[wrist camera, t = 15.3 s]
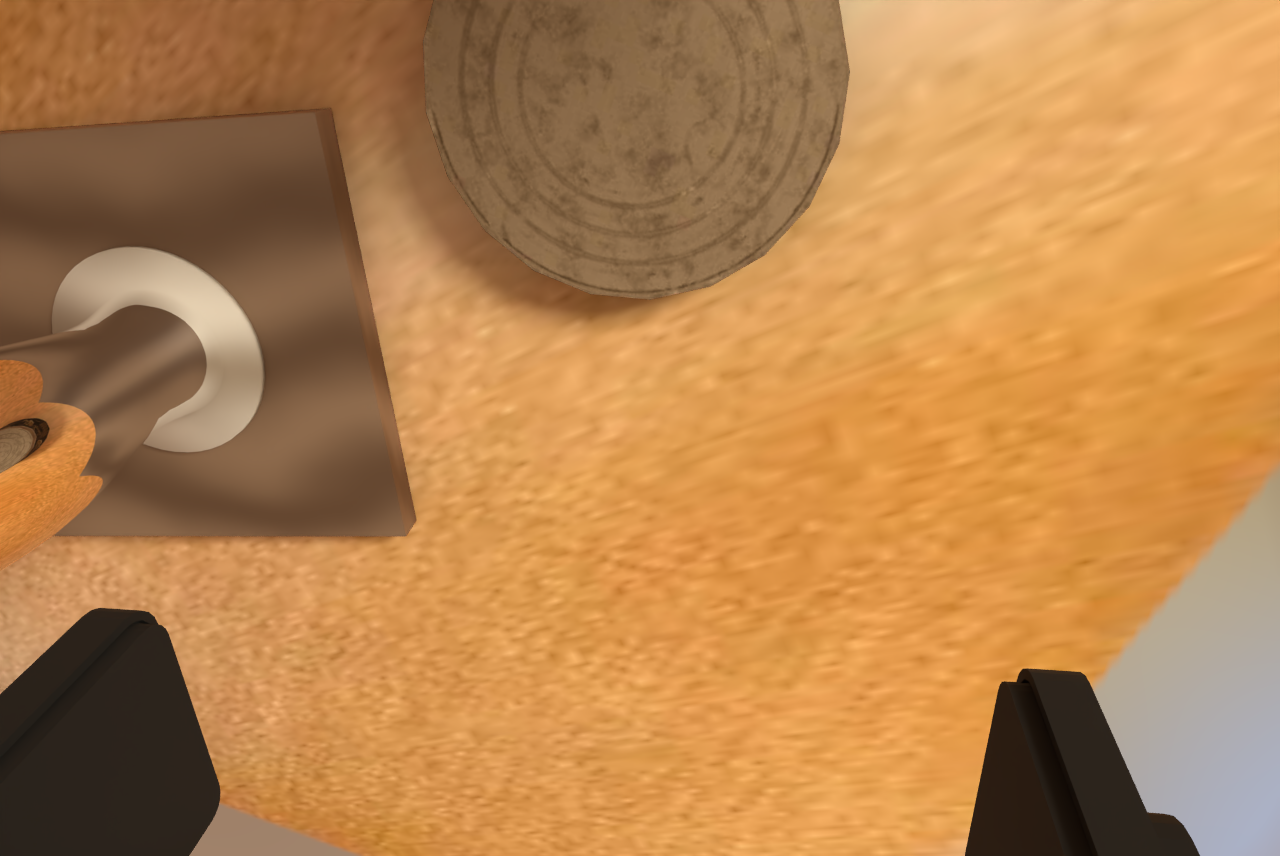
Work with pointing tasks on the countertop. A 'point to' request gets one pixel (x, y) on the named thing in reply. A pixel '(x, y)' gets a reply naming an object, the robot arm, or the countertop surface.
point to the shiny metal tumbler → (93, 406)
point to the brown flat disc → (636, 130)
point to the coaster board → (218, 315)
